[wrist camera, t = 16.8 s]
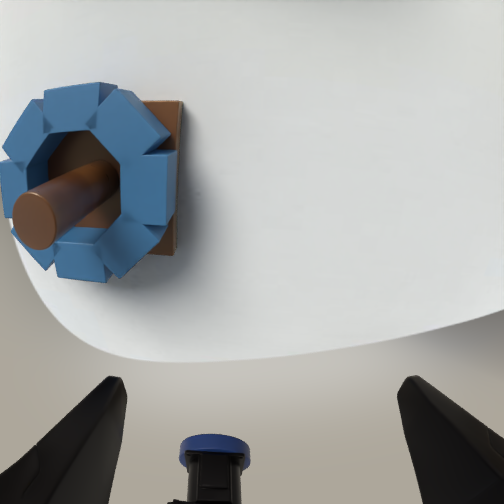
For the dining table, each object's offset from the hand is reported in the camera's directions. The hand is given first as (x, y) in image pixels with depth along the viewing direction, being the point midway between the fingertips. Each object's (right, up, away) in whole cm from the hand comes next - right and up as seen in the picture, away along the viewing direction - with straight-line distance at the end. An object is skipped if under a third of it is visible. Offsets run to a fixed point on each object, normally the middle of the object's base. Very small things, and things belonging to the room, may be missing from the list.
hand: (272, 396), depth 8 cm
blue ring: (-10, +8, +7) cm, 15 cm away
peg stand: (-9, +9, +8) cm, 15 cm away
